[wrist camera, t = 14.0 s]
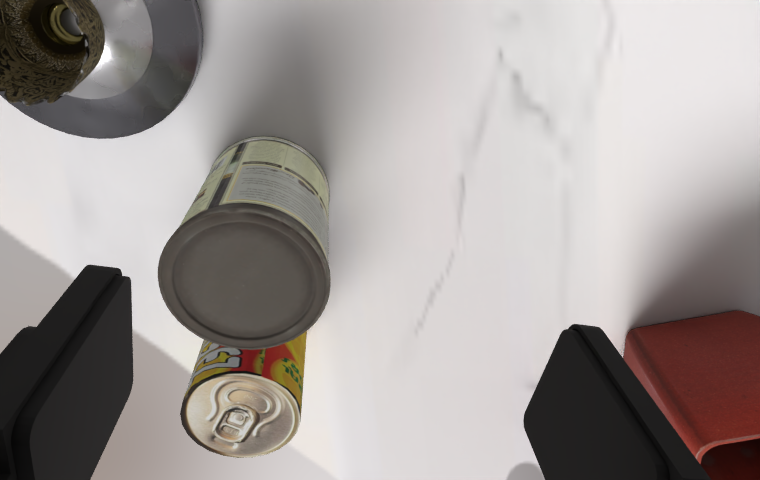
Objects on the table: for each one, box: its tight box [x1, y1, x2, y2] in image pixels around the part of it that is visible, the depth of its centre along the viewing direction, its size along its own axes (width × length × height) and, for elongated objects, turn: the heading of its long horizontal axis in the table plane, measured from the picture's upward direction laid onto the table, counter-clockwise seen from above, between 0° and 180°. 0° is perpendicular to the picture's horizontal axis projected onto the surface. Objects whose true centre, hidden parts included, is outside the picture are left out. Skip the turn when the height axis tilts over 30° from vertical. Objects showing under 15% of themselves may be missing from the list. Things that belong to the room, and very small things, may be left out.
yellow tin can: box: [180, 331, 307, 458], centre depth 45 cm, size 9×9×12 cm
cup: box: [0, 0, 105, 106], centre depth 31 cm, size 7×7×8 cm
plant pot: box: [624, 311, 760, 480], centre depth 50 cm, size 19×19×17 cm
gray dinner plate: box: [0, 0, 203, 139], centre depth 36 cm, size 16×16×2 cm
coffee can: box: [158, 136, 330, 350], centre depth 38 cm, size 10×10×14 cm
